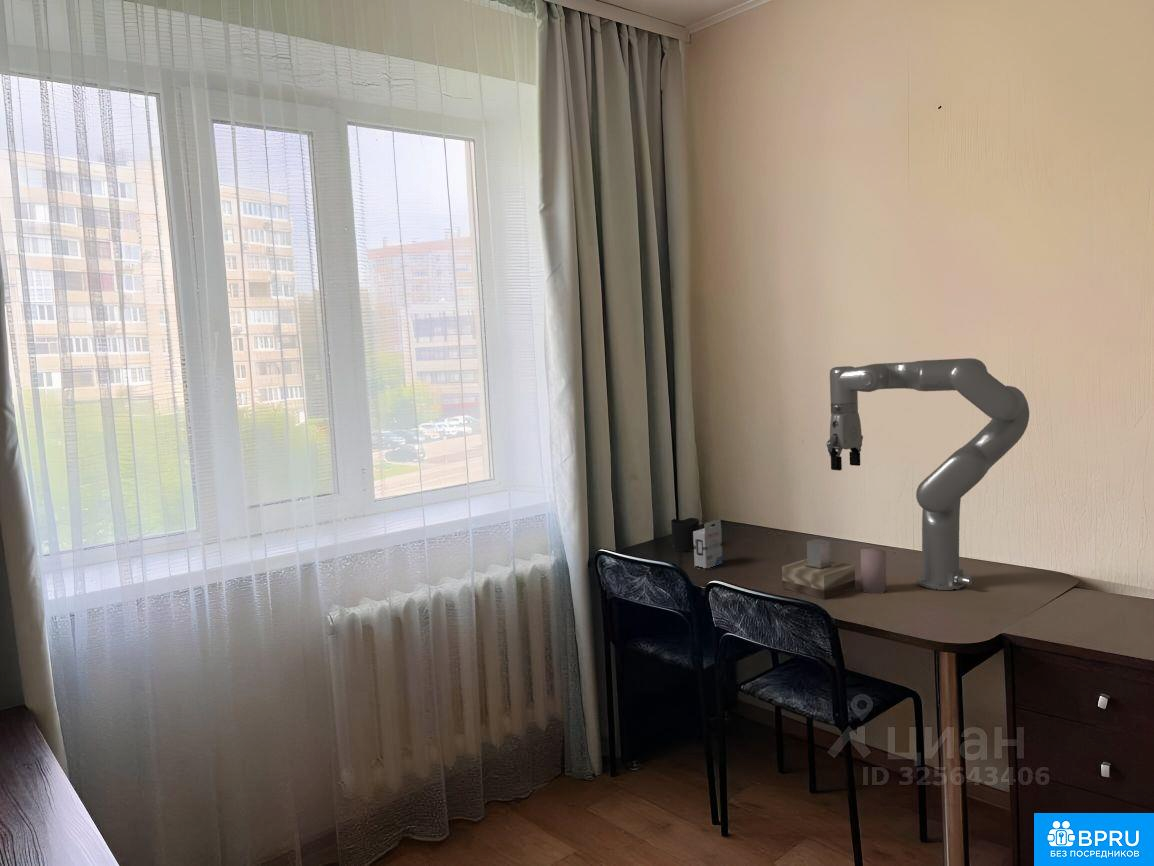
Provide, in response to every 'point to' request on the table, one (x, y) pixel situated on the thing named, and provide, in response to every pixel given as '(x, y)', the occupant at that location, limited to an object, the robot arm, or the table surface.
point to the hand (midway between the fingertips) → (845, 467)
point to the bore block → (818, 579)
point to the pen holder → (684, 533)
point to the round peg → (873, 570)
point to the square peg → (818, 554)
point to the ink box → (708, 545)
